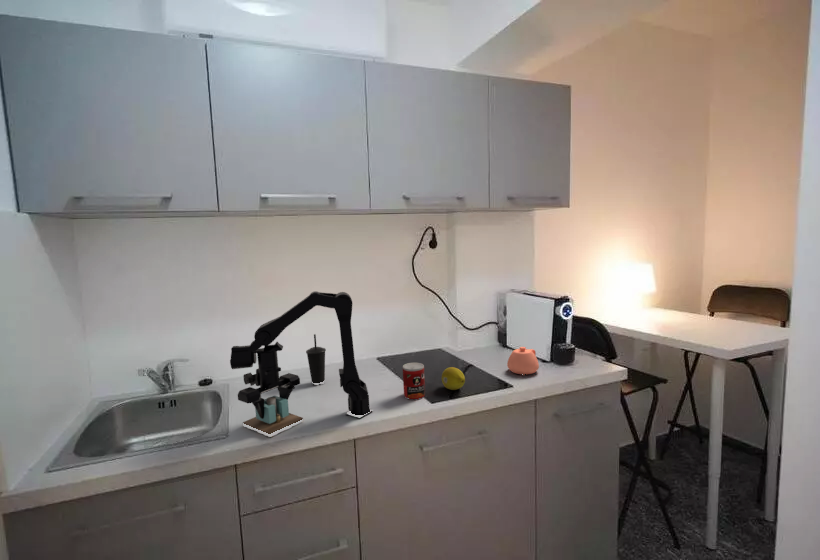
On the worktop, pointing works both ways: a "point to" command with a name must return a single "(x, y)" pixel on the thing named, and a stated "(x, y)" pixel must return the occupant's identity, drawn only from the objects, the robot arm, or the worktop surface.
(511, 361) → the orange teapot
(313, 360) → the drinking cup
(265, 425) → the board
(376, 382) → the worktop surface
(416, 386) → the canned food
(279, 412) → the collar
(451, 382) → the lemon
